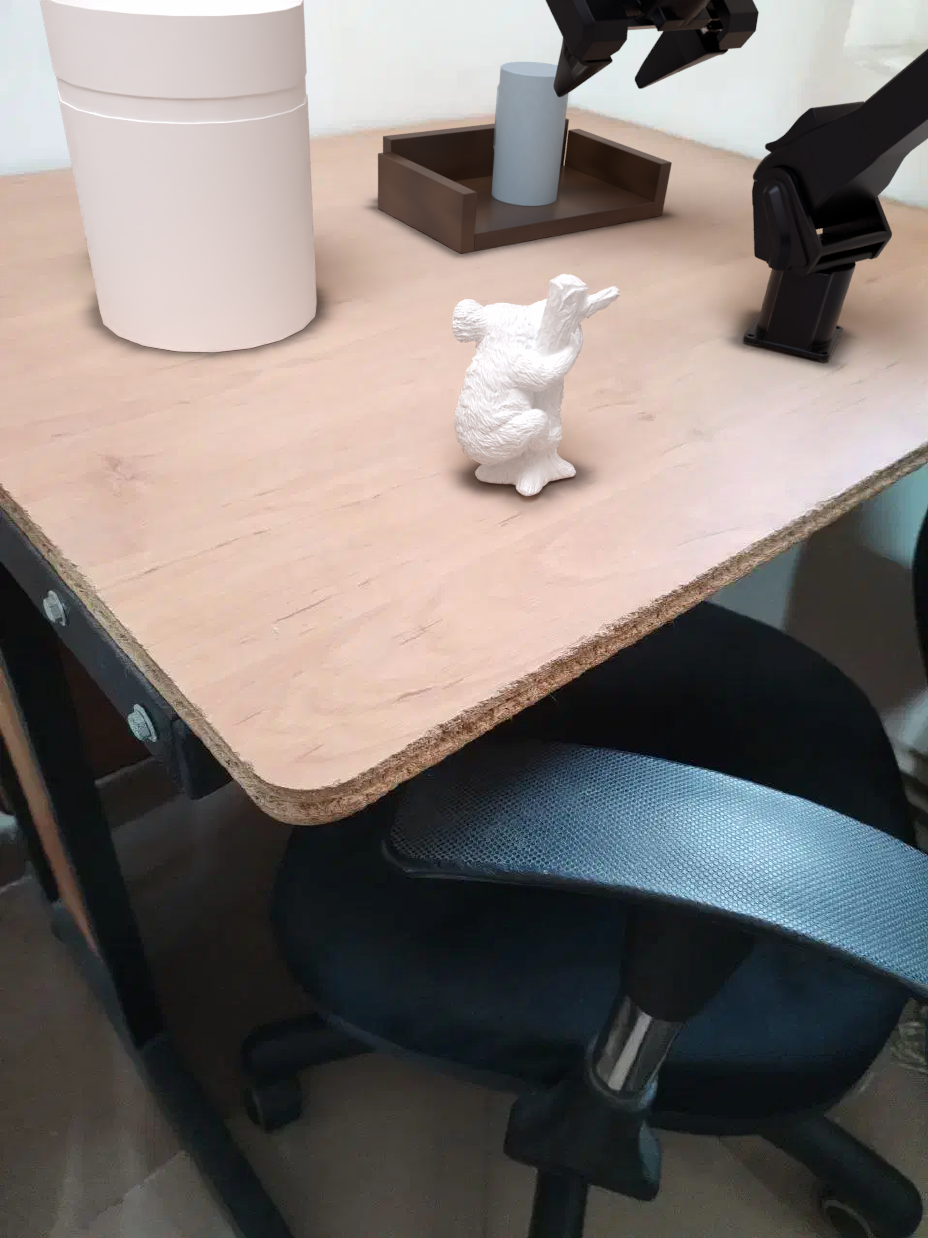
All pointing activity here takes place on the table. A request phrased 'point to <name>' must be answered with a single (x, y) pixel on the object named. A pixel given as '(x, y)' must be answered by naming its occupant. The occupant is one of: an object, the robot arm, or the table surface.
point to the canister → (190, 165)
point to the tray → (474, 220)
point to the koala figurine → (521, 381)
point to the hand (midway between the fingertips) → (598, 87)
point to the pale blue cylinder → (528, 134)
